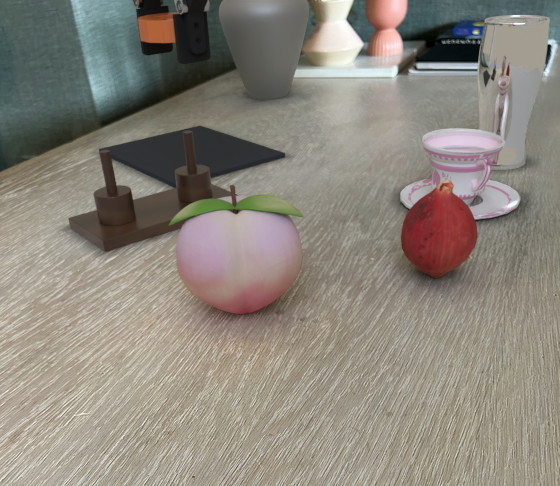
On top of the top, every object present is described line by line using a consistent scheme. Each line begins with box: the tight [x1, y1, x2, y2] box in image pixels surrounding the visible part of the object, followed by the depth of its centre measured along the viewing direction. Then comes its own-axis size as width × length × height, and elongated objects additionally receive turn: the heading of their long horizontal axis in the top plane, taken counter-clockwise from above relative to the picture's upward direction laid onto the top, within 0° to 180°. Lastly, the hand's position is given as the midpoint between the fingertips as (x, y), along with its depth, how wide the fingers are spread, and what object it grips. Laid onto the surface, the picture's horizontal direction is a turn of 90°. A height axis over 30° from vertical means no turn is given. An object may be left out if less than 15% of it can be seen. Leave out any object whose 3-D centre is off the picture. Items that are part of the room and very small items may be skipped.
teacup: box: [399, 127, 522, 221], centre depth 67 cm, size 12×12×6 cm
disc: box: [137, 11, 179, 44], centre depth 62 cm, size 6×6×2 cm
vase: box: [218, 0, 310, 101], centre depth 107 cm, size 14×14×25 cm
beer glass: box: [476, 14, 551, 171], centre depth 74 cm, size 7×7×15 cm
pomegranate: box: [400, 180, 479, 279], centre depth 53 cm, size 6×6×8 cm
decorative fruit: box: [169, 184, 304, 315], centre depth 49 cm, size 9×8×10 cm
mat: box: [98, 125, 286, 188], centre depth 87 cm, size 20×16×1 cm
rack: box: [67, 131, 240, 253], centre depth 67 cm, size 8×16×8 cm, turn 128°
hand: (175, 55), depth 63 cm, fingers closed on disc, 6 cm apart
